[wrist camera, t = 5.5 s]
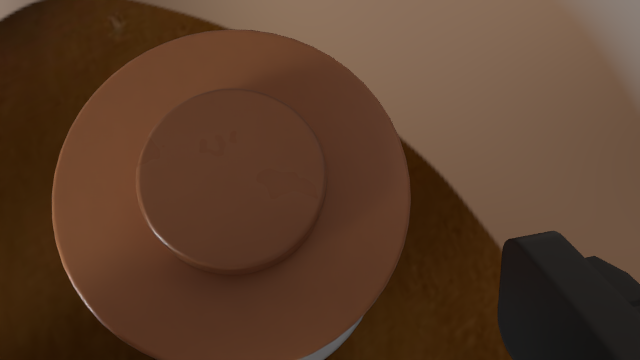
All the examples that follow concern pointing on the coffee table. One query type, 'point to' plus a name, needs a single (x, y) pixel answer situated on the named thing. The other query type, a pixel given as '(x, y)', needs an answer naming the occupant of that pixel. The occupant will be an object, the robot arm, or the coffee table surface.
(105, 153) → the shaker lid
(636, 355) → the robot arm
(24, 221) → the coffee table surface
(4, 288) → the coffee table surface
